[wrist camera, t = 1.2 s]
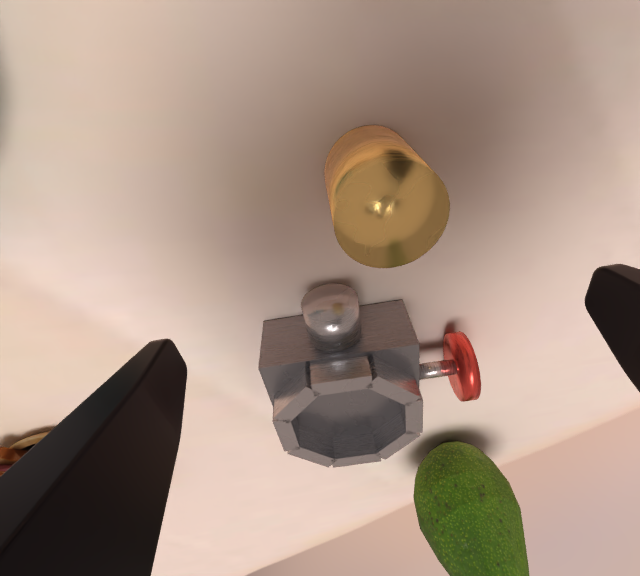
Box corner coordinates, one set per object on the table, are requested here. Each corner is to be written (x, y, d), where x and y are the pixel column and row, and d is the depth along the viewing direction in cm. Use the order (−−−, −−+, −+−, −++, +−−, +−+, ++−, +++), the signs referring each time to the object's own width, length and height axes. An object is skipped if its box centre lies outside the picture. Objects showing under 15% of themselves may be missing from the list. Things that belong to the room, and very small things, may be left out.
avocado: (481, 413, 31) (567, 591, 21) (492, 457, 35) (567, 621, 26) (391, 437, 32) (432, 615, 23) (412, 477, 37) (454, 640, 27)
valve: (462, 258, 21) (504, 319, 17) (449, 401, 30) (476, 467, 25) (254, 291, 22) (243, 358, 18) (297, 422, 30) (297, 491, 26)
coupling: (411, 117, 17) (452, 149, 12) (412, 205, 19) (447, 258, 15) (318, 134, 17) (325, 172, 13) (330, 218, 20) (341, 275, 15)
